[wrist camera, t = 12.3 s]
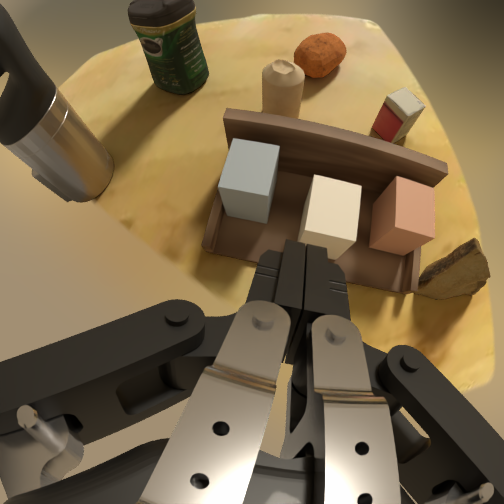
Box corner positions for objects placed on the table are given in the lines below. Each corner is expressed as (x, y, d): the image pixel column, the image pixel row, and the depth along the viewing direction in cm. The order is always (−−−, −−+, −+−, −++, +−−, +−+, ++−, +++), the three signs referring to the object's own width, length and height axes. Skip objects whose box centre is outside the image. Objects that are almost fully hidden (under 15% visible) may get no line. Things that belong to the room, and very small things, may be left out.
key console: (406, 294, 33) (449, 282, 24) (206, 251, 36) (186, 224, 26) (412, 197, 37) (447, 163, 27) (234, 155, 39) (226, 108, 29)
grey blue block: (267, 223, 35) (268, 196, 28) (226, 215, 36) (217, 186, 28) (276, 180, 37) (279, 146, 29) (238, 173, 37) (233, 138, 29)
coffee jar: (217, 74, 43) (202, -15, 25) (187, 101, 42) (159, 9, 24) (177, 61, 45) (154, -17, 27) (148, 86, 43) (114, 7, 25)
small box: (389, 116, 40) (405, 85, 33) (407, 135, 39) (426, 105, 32) (370, 127, 40) (386, 94, 32) (389, 147, 39) (408, 116, 31)
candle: (305, 112, 40) (314, 65, 31) (284, 133, 40) (289, 84, 30) (277, 96, 41) (279, 49, 32) (255, 115, 40) (253, 66, 31)
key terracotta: (403, 255, 34) (434, 238, 26) (368, 247, 34) (394, 226, 26) (405, 213, 35) (434, 188, 27) (372, 204, 36) (396, 175, 28)
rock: (492, 266, 31) (456, 221, 32) (516, 292, 24) (480, 240, 24) (444, 315, 36) (406, 277, 37) (458, 349, 29) (416, 308, 29)
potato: (281, 73, 43) (283, 42, 36) (319, 45, 45) (323, 18, 38) (317, 91, 42) (323, 60, 35) (351, 61, 44) (358, 33, 37)
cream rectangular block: (335, 259, 34) (355, 241, 26) (295, 251, 34) (304, 229, 27) (342, 214, 35) (361, 185, 28) (304, 205, 36) (314, 174, 28)
